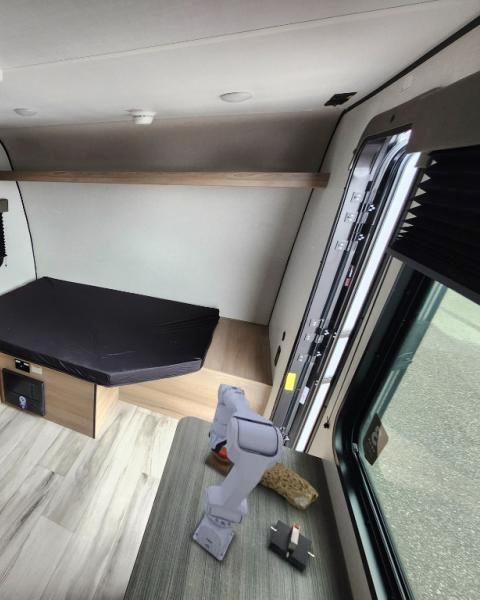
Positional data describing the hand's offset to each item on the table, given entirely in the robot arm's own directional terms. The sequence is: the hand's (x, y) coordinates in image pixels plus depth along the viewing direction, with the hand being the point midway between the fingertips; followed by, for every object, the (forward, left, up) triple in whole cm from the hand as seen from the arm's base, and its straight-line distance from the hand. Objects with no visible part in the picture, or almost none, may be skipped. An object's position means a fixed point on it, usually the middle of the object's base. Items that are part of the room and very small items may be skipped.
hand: (215, 450), depth 101 cm
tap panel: (-7, -25, -10) cm, 28 cm away
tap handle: (-7, -25, -7) cm, 27 cm away
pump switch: (+8, -1, -10) cm, 13 cm away
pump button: (+8, -1, -7) cm, 11 cm away
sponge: (+11, -17, -11) cm, 23 cm away
